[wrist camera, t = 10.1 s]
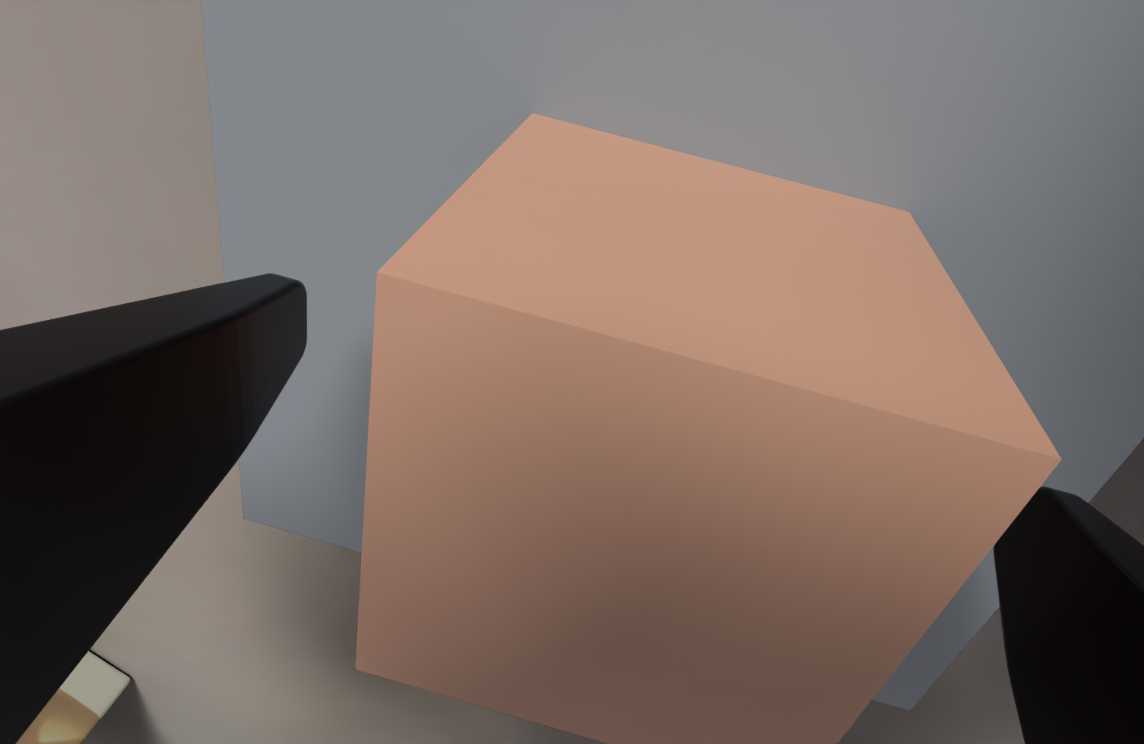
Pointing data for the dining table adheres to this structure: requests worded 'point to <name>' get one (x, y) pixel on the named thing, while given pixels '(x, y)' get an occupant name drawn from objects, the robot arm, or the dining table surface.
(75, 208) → the dining table surface
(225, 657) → the dining table surface
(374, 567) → the terracotta cube
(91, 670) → the skincare box
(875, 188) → the slate base
